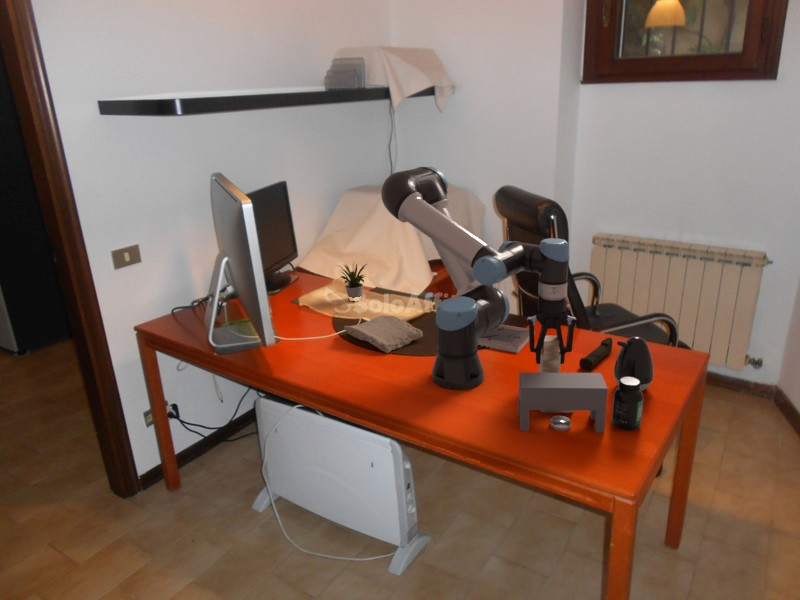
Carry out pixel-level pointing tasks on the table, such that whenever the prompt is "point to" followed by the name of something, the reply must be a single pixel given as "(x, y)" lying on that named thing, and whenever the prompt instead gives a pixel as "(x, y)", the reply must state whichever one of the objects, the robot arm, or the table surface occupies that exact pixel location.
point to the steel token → (560, 423)
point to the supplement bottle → (627, 404)
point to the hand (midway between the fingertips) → (549, 373)
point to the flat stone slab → (385, 332)
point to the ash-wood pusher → (551, 362)
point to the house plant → (353, 281)
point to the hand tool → (596, 355)
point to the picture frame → (505, 338)
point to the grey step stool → (562, 395)
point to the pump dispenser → (634, 361)
